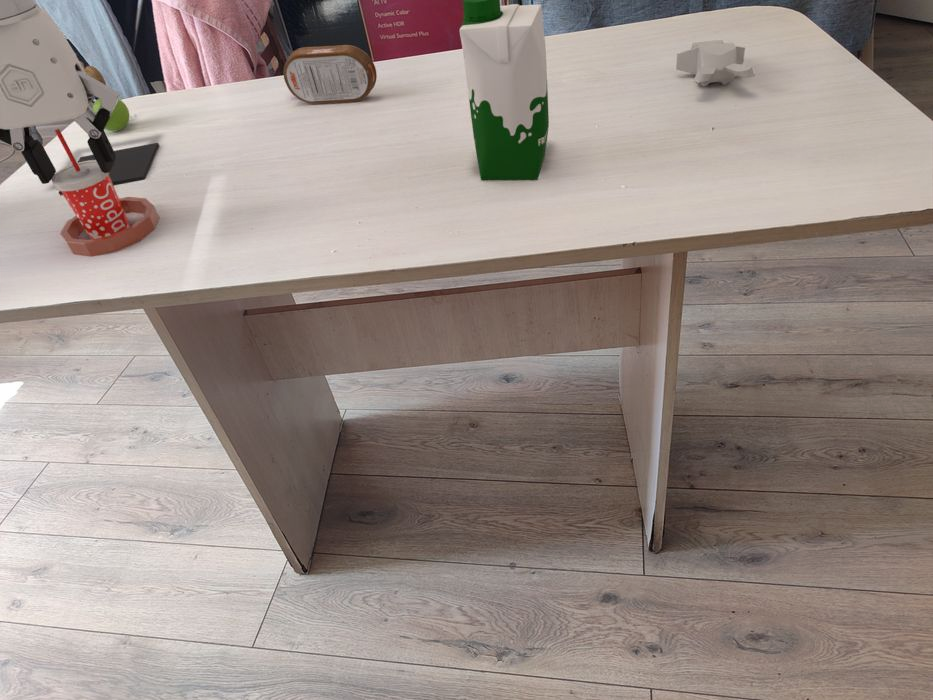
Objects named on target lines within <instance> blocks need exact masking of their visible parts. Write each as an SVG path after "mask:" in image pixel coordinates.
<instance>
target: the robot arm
mask: <svg viewBox="0 0 933 700" xmlns="http://www.w3.org/2000/svg"><path fill="white" fill-rule="evenodd" d="M75 53H76V52H75V51H74V49H73V48H72V46H71V45H70V43H69V41H68V40H67V37H66V36H65V34H64V33H63V32H62V31H61V29H60V27H59V26H58V24H57V23H56V22H55V20H54V19H53V17H52V16H51V15H50V13H49V12H48V11H47V9H46V8H44V7H38V5H37V3H36V1H35V0H0V141H1V142H3V143H5V144H7V145H9V146H11V147H12V150H14V151H16V152H19V153H21V155H22V156H23V158H24V160H25V161H26V163H27V165H28V167H29V169H30V171H31V172H32V174H33V175H35V176H37V178H38V180H39V181H40V182H41V184H42V185H46V184H49V183H50V182H52V180H51V179H52V177H53V176H54V174H56V173H57V168H55V166H54V164H53V161H52V160H51V158H50V156H49V155H48V153H47V151H46V150H45V148H44V146H43V143H42V142H41V141H40V140H39V139H37V138H36V139H34V137H33V132H32V127H36V126H42V125H48V124H52V123H53V124H54V123H59V122H64V121H69V120H73V121H74V122H75V123H76V124H77V125H78V127H80V128H81V129H82V130H83V131H84V132H85V133H86V134H87V135H88V139H87V141H86V142H87V146H88V147H89V149H90V151H91V153H92V155H94V157H95V159H96V161H97V163H98V165H99V167H100V169H101V171H102V172H104V173H109V172H110V171H111V169H112V167H113V165H114V163H115V160H116V155H115V152H114V151H115V149H114V148H113V146H112V144H111V142H110V140H109V138H108V136H107V134H106V132H105V130H106V129H105V127H106V125H107V123H108V121H109V118H110V116H111V114H112V112H113V110H114V108H115V106H116V104H117V102H118V100H119V99H120V98H121V97H120V96H121V95H120V93H119V92H118V91H117V90H115V89H113V88H111V87H110V86H108V85H107V84H106V85H105V84H103V83H101V82H99V81H98V80H96V79H94V78H92V77H91V76H89V75H87V74H86V73H85V71H84V69H83V67H82V66H81V64H80V62H81V61H80V60H79V58H78V57H77V56H76V55H75ZM79 61H80V62H79ZM95 98H98V99H100V100H101V102H102V103H101V106H100V108H99V110H98V112H97V113H96V112H95V111H94V110H93V109H92V108H93V107H91V105H90V103H92V102H93V101H94V100H95Z"/></svg>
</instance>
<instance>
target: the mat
mask: <svg viewBox="0 0 933 700" xmlns="http://www.w3.org/2000/svg"><path fill="white" fill-rule="evenodd" d="M159 148H160V144H159V142H154V143H148V144H143V145H138V146H132V147H127V148H121V149H116V150H114V152H115V155H116V160H115V163H114V165H113V167H112V169H111V171H110V172H109V176H110V179H111V181H112V183H113V186H116V185H123V184H127V183H133V182H137V181H139V182H140V181H143V180H146V177H147V175H148V173H149V171H150V168H151V165H152V163H153V161H154V158H155V156H156V154H157V152H158V150H159ZM88 160H96V159H95V157H94V155H93V154H88V155H83V156H80V157H79V159H78V160H77V161H76V162H77V163H79V162H83V161H88ZM58 194H59V196H63V194H62V192H61V191H60V190H58Z"/></svg>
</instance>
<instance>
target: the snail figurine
mask: <svg viewBox="0 0 933 700" xmlns="http://www.w3.org/2000/svg"><path fill="white" fill-rule="evenodd" d="M74 53H75V55H76V57H77V56H78V54H77V53H76V52H74ZM79 62H80V64H81V66H82V67H83V69H84V71H85V73H86V74H87V75H89V76H91V77H92V78H94V79H96V80H98V81H99V82H101V83H103V84H105V85H106V86H107V82H106V80H105V77H104V76H103V74H102V73H101V72H100V70H99V69H98V68H97V67H95V66H93V65H87V66H86V67H85V65H84V63H83V62H82V61H80V60H79ZM101 103H102V102H101V100H100V99H99V98H98V99H96V100H95V101H94V103H93V105H92V107H91V108H92V109H93V110H94V111H95V112H96V113H97V112H98V110H99V108H100V106H101ZM129 122H130V110H129V107H128V106H127V105H126V104H125V102H124V101H123V100H121V99H120V98H119V100H118V102H117V104H116V106H115V108H114V110H113V112H112V114H111V116H110V118H109V121H108V123H107V125H106V127H105V129H104V130H107V131H110V132H117V131H121V130H123V129H124V128H125V127H126V126H127V125H128V124H129Z"/></svg>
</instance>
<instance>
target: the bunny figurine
mask: <svg viewBox="0 0 933 700" xmlns="http://www.w3.org/2000/svg"><path fill="white" fill-rule="evenodd" d="M745 49H746V47H744V46H737V45H736V44H734V43H733V42H724V40H723V39H718V40H708V41H707V40H706V41H698V42H697V41H695V42H692V44H691V47H690V49H688V50H685V51H682V52H678V53H676V62H675V63H676V64H675V65H676V66H675V68H676V71H680V72H683V73H689V74H693V75H695V76H694V78H693V82H694V83H697V84H700V85H701V86H702V87H707V86H709V84H711V83H720V84H721V85H727V84H728V83H729V82H732V81H734V78H735V76H738V77H741V78H746V79H747V78H754V77H755V73H754V69H753V67H752V66H751V65H746V64H744V61H745V51H746V50H745Z"/></svg>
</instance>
